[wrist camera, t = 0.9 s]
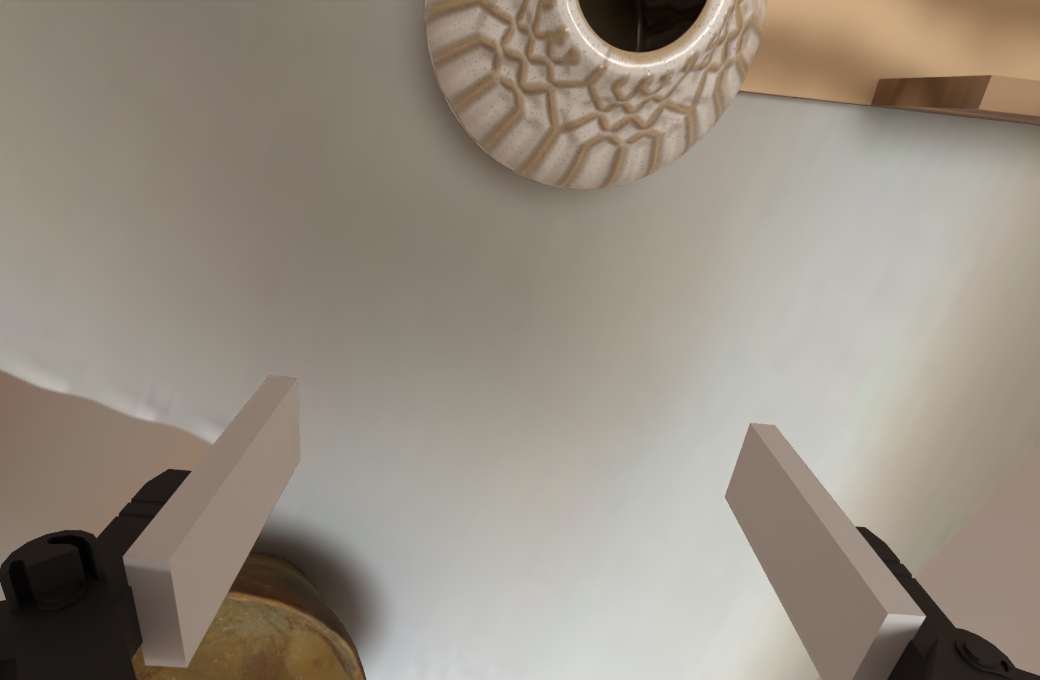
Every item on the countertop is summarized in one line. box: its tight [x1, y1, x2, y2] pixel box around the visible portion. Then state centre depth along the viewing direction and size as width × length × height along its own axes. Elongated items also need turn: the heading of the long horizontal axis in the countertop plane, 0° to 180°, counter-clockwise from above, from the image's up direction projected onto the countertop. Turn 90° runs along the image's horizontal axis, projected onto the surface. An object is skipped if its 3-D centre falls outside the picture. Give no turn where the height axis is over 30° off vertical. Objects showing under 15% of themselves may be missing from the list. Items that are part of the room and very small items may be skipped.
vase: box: [424, 0, 768, 190], centre depth 25 cm, size 16×16×20 cm
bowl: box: [131, 553, 366, 680], centre depth 48 cm, size 22×23×10 cm
